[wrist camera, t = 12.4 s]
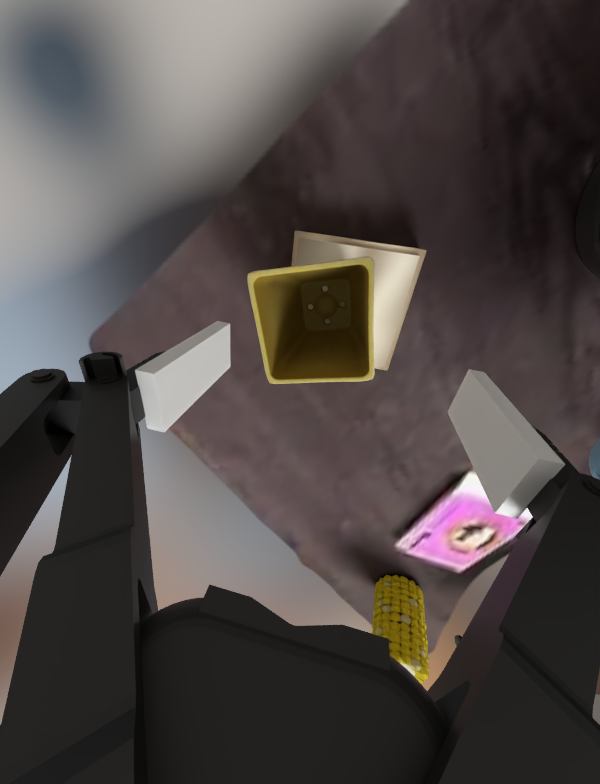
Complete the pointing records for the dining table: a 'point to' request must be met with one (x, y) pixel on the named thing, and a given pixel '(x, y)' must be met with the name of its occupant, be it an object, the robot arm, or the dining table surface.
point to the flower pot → (316, 321)
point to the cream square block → (390, 280)
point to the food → (402, 623)
